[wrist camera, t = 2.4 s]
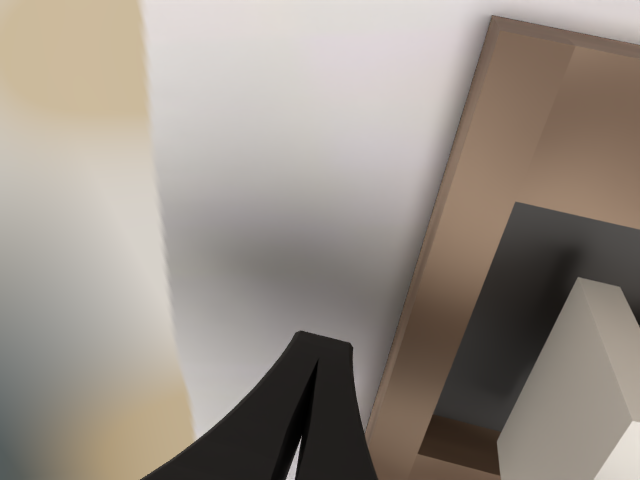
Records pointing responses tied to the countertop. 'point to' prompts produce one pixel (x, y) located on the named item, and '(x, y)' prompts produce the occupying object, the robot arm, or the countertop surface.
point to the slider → (580, 395)
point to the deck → (511, 243)
